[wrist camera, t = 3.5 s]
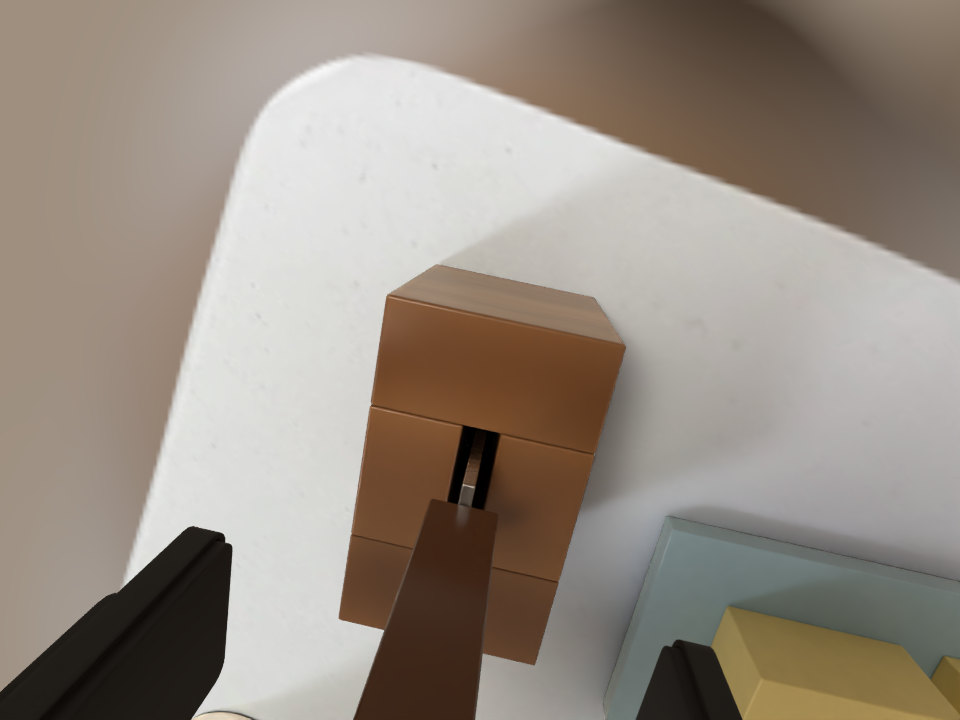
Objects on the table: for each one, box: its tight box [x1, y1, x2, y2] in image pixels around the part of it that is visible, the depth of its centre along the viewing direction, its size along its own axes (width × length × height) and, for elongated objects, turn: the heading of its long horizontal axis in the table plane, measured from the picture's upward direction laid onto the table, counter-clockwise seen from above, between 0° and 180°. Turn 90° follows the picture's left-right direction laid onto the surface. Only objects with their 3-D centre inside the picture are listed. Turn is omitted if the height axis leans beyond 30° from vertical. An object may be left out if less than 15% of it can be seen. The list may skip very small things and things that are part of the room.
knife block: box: [339, 264, 626, 665], centre depth 18 cm, size 10×6×7 cm, turn 169°
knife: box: [353, 428, 498, 720], centre depth 13 cm, size 3×2×17 cm, turn 169°
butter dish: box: [603, 516, 960, 720], centre depth 23 cm, size 10×16×1 cm, turn 79°
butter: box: [711, 606, 960, 720], centre depth 20 cm, size 4×7×4 cm, turn 79°
